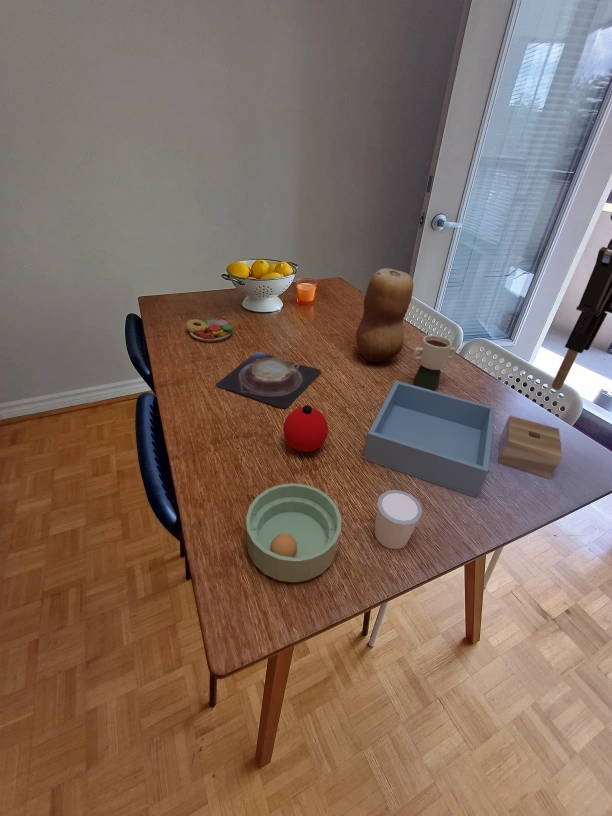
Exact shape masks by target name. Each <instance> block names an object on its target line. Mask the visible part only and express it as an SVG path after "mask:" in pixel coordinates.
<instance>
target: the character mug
mask: <svg viewBox="0 0 612 816" xmlns="http://www.w3.org/2000/svg"><path fill="white" fill-rule="evenodd" d="M456 349H457V348H456V347H455V346H453V342H452V340H451V339H449V338H446V337H444V336H441V335H438V334H437V335H436V334H428V335H425V336H424V337H423V339H422V340H421V345H420V347H415V348H414V349H413V353H412V354H413V355H412V360H413V361H418V363H419V367H418V369H417V371H416V374H415V376H414V379H413V383H414V384H415V386H418V387H421V388H425V389H429V390H432V391H436V390H437V389H438V387H439V385H440V384H439V383H440V378H441V370H443V369H444V368H445V367H446V366H447V364H448V360H452V359H454V356H455V353H456Z"/></svg>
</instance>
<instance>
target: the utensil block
mask: <svg viewBox="0 0 612 816" xmlns="http://www.w3.org/2000/svg"><path fill="white" fill-rule="evenodd" d="M560 434H561V433H560V428H558V427H553V426H551V425H547V424H543V423H540V422H535V421H533V420H528V419H525V418H520V417H517V416H514V415H509V416H508V418H507V420H506V422H505V425H504V427H503V429H502V432H501V433H500V436H499V446H498V447H499V448H498V460H497V461H498V462H497V463H498V464H500V465H503V466H507V467H510V468H513V469H516V470H519V471H523V472H525V473H529V474H532V475H535V476H538V477H542V478H545V479H548V480H550V479H551V477H552V475H553V473H554V472H555V470H556V468H557V467H558V465H559V463H560V462H561V460H562V458H563V451H562V443H561V436H560Z"/></svg>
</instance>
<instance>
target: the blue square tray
mask: <svg viewBox="0 0 612 816" xmlns="http://www.w3.org/2000/svg"><path fill="white" fill-rule="evenodd" d="M495 415H496V407H495V406H492V405H487V404H485V403H480V402H477V401H472V400H469V399H465V398H462V397H458V396H454V395H451V394H447V393H443V392H439V391H436V390H429V389H425V388H421V387H418V386H417V385H413V384H410V383H406V382H402V381H399V380H395V381H394V383H393V385H392V387H391V389H390V390H389V392H388V395H387V396H386V399H385V400H384V402H383V404H382V406H381V407H380V409H379V412H378V413H377V415H376V417H375V419H374V421H373V423H372V424H371V427H370V428H369V430H368V433H367V436H366V441H365V445H364V451H363V456H362V460H364V461H367V462H369V463H372V464H375V465H379V466H382V467H385V468H388V469H390V470H394V471H396V472H400V473H402V474H405V475H408V476H411V477H413V478H417V479H420V480H423V481H426V482H429V483H431V484H433V485H437V486H440V487H444V488H446V489H449V490H451V491H454V492H458V493H461V494H464V495H467V496H470V497H472V498H475V499H476V498H478V496H479V494H480V491H481V489H482V487H483V485H484V482H485V480H486V479H487V475H488V474H489V470H490V461H491V451H492V443H493V431H494V423H495V422H494V421H495Z"/></svg>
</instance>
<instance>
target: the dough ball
mask: <svg viewBox="0 0 612 816" xmlns="http://www.w3.org/2000/svg"><path fill="white" fill-rule="evenodd" d="M270 551H271V552H273V553H276V554H278V555H280V556H288V557H294V556H295V555H296V552H297V543H296V541H295V539H294V538H293V537H292V536H291V535H288V534H280V535H277V536H276V537H275V538H274V539H273V540H272V542H271V546H270Z"/></svg>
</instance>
